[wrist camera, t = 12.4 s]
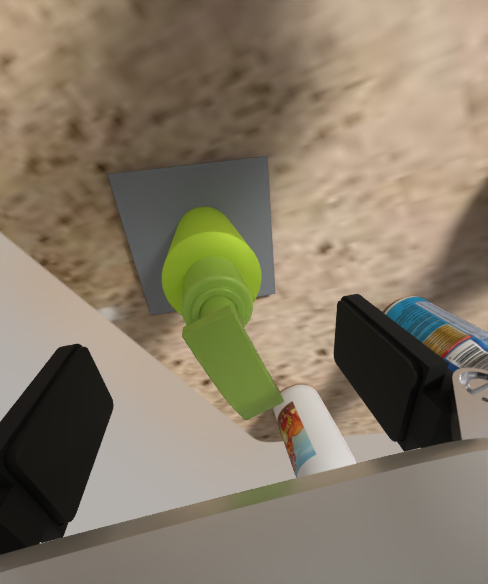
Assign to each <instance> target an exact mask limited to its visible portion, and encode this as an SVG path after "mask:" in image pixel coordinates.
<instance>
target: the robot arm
mask: <svg viewBox="0 0 488 584" xmlns="http://www.w3.org/2000/svg"><path fill="white" fill-rule="evenodd" d="M334 359H335V362H336V364H337V365H338V367H339V368H340V370H341V371H342V372H343V374H344V375H345V377H346V378H347V379H348V381H349V382H350V383H351V385H352V386H353V388H354V389H355V390H356V392H357V393H358V395H359V396H360V397H361V399H362V400H363V402H364V403H365V404H366V406H367V407H368V409H369V410H370V411H371V413H372V414H373V415H374V417H375V418H376V420H377V421H378V422H379V424H380V425H381V427H382V428H383V429H384V431H385V432H386V434H387V435H388V436H389V438H390V439H391V440H392V441H394V442H396V441H397V442H398V444H399V445H400V446H401V448H402V449H403V450H404V452H402V453H398V454H394V455H389V456H385V457H381V458H377V459H373V460H369V461H365V462H360V463H356V464H352V465H348V466H344V467H340V468H336V469H332V470H328V471H324V472H320V473H316V474H311V475H307V476H303V477H299V478H295V479H291V480H288V481H283V482H279V483H275V484H271V485H267V486H263V487H259V488H256V489H251V490H247V491H243V492H240V493H235V494H232V495H227V496H223V497H219V498H215V499H212V500H207V501H204V502H200V503H196V504H192V505H188V506H184V507H180V508H176V509H172V510H168V511H164V512H160V513H157V514H152V515H149V516H145V517H141V518H137V519H133V520H129V521H125V522H121V523H118V524H114V525H110V526H106V527H102V528H98V529H94V530H90V531H86V532H82V533H78V534H75V535H71V536H67V537H63V536H64V533H65V530H66V528H67V525H68V522H71V521H72V520H73V518H74V517H75V515H76V513H77V510H78V507H79V504H80V501H81V499H82V496H83V493H84V490H85V487H86V484H87V482H88V479H89V476H90V473H91V470H92V467H93V464H94V462H95V459H96V456H97V453H98V450H99V448H100V445H101V442H102V439H103V436H104V433H105V430H106V427H107V425H108V422H109V419H110V416H111V414H112V410H113V400H112V397H111V395H110V393H109V391H108V389H107V387H106V385H105V383H104V381H103V379H102V377H101V375H100V373H99V371H98V368H97V366H96V365H95V362H94V360H93V358H92V356H91V354H90V352H89V350H88V348H86V347H82V346H81V345H80V344H73V345H68V346H63V347H59V348H58V349H57V350H56V351H55V353H54V354H53V355H52V357H51V358H50V359H49V360H48V362H47V363H46V364H45V365H44V367H43V368H42V369H41V371H40V372H39V373H38V374H37V376H36V377H35V378H34V380H33V381H32V382H31V383H30V385H29V386H28V387H27V389H26V390H25V391H24V392H23V394H22V395H21V396H20V398H19V399H18V400H17V401H16V403H15V404H14V405H13V406H12V408H11V409H10V410H9V411H8V413H7V414H6V415H5V417H4V418H3V419H2V420H1V422H0V584H488V371H487V370H483V369H478V368H461V369H458V370H456V371H455V372H452V371H451V370H450V369H449V368H448V365H449V363H448V362H447V361H445V360H444V359H443V358H442V357H440V356H439V355H438V354H436V353H435V352H434V351H432V350H431V349H430V348H429V347H427V346H426V345H425V344H423V343H422V342H421V341H419V340H418V339H417V338H415V337H414V336H413V335H412V334H410V333H409V332H408V331H406V330H405V329H404V328H402V327H401V326H400V325H399V324H397V323H396V322H395V321H393V320H392V319H391V318H389V317H388V316H387V315H385V314H384V313H383V312H382V311H380V310H379V309H378V308H376V307H375V306H374V305H372V304H371V303H370V302H368V301H367V300H366V299H365V298H363V297H362V296H361V295H359V294H354V295H348V296H343V297H342V299H341V301H338V303H337V315H336V329H335V343H334ZM420 447H421V449H417V448H420ZM413 449H416V450H413ZM409 450H411V451H409ZM405 451H407V452H405ZM59 538H60V539H59ZM55 539H56V540H55ZM51 540H52V541H51ZM47 541H49V542H47ZM40 542H41V543H42V544H39V543H40ZM43 542H45V543H43Z"/></svg>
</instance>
